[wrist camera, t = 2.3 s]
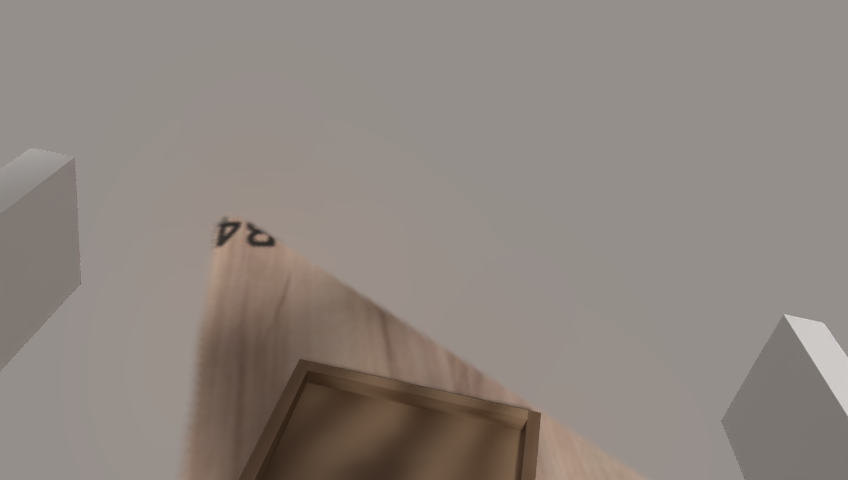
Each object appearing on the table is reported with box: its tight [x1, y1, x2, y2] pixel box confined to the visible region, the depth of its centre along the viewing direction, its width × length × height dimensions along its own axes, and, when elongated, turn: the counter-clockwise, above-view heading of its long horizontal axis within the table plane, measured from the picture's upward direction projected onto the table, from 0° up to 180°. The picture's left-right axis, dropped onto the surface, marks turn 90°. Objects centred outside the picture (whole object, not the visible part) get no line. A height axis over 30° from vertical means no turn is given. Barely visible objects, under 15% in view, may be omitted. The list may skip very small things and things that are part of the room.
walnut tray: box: [239, 359, 541, 480], centre depth 51 cm, size 20×14×2 cm
